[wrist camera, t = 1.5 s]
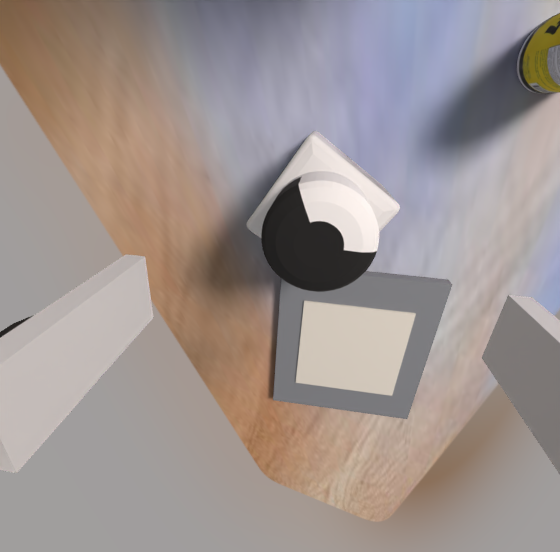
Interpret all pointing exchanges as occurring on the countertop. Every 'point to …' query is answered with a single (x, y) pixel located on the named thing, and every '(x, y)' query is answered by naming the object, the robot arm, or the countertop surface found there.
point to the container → (322, 218)
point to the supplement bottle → (541, 58)
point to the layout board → (358, 342)
